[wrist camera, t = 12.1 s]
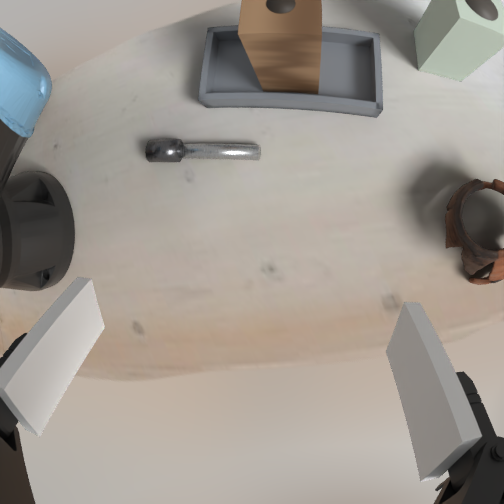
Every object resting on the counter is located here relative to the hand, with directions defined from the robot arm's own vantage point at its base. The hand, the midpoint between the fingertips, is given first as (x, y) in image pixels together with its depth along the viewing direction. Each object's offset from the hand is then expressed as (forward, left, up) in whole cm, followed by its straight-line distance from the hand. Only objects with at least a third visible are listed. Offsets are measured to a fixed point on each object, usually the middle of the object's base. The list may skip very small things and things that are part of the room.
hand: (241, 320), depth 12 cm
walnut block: (0, +17, -16) cm, 24 cm away
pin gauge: (-8, +9, -17) cm, 21 cm away
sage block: (+15, +22, -17) cm, 32 cm away
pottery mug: (+21, +4, -17) cm, 27 cm away
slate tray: (0, +18, -17) cm, 24 cm away
